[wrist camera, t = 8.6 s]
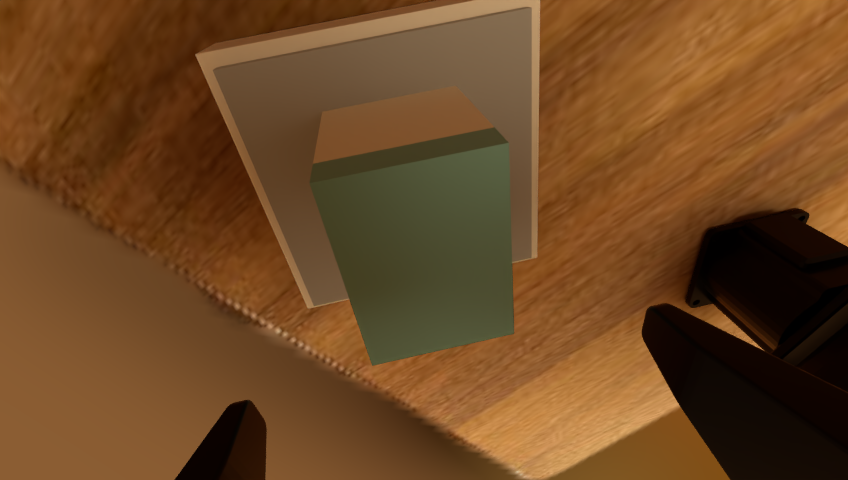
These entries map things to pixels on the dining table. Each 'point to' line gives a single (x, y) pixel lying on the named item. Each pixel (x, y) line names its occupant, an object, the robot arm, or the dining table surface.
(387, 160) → the cream carton
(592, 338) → the dining table surface
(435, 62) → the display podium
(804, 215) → the robot arm
